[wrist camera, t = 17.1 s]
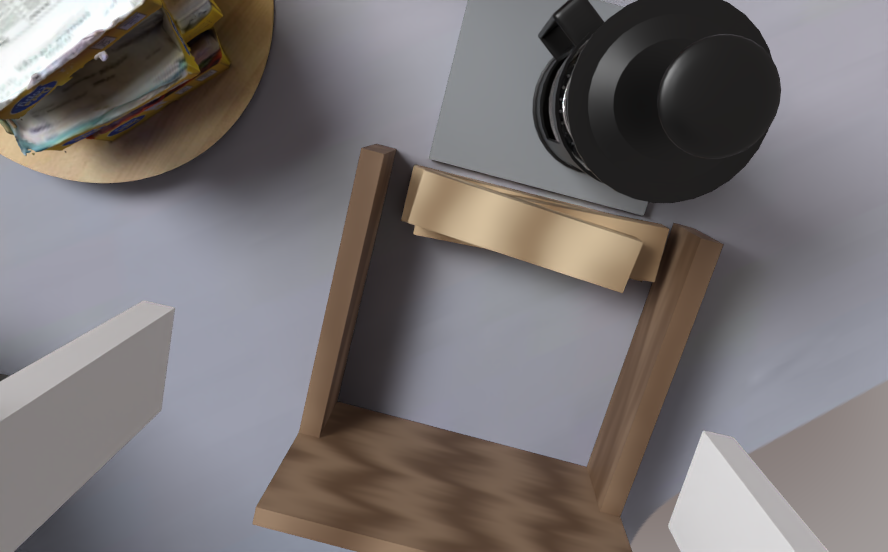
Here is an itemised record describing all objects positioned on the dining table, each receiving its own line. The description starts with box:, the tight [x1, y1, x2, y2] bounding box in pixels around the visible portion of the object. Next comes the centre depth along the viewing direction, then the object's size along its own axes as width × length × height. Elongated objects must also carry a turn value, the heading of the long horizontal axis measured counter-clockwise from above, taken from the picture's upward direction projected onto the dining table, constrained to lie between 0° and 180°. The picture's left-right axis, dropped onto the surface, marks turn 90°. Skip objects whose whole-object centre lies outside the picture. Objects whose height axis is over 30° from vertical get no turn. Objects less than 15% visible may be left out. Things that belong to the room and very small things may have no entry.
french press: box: [532, 0, 781, 203], centre depth 33 cm, size 12×9×23 cm
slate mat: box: [429, 0, 648, 216], centre depth 44 cm, size 16×13×1 cm
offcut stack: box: [401, 165, 669, 293], centre depth 45 cm, size 18×5×6 cm, turn 76°
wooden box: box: [253, 144, 724, 552], centre depth 42 cm, size 24×22×15 cm
